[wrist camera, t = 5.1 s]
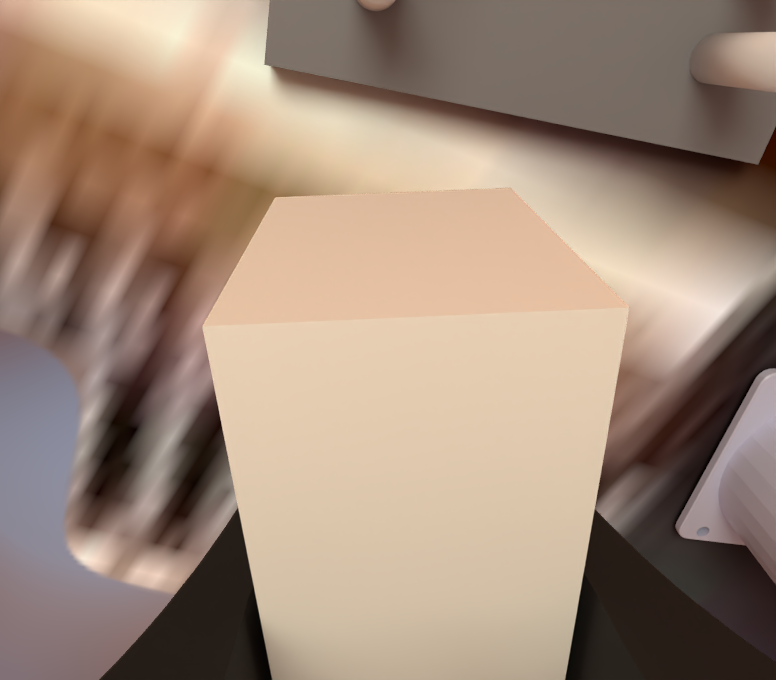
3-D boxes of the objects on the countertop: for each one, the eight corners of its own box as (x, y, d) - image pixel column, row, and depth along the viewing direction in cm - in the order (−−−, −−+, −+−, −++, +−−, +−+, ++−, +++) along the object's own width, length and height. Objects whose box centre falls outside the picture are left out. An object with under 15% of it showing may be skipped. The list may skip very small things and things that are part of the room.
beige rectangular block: (275, 197, 10) (202, 327, 5) (510, 187, 10) (629, 307, 5) (326, 627, 15) (311, 877, 10) (482, 619, 15) (533, 864, 11)
